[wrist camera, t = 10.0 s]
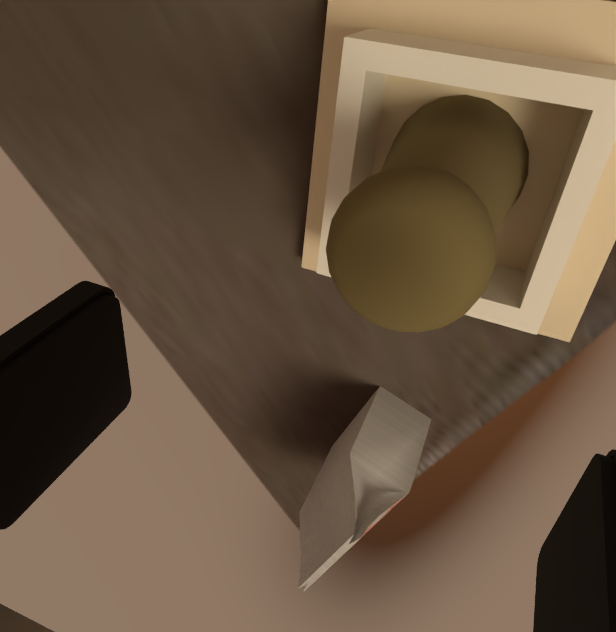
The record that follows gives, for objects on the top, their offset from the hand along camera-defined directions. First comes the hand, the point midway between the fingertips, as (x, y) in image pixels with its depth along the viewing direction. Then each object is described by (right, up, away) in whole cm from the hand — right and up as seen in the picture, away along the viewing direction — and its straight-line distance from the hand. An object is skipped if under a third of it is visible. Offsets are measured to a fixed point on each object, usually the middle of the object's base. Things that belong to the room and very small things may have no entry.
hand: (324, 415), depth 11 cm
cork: (+6, +9, +14) cm, 18 cm away
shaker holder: (+7, +9, +15) cm, 19 cm away
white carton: (+4, -6, +25) cm, 26 cm away
